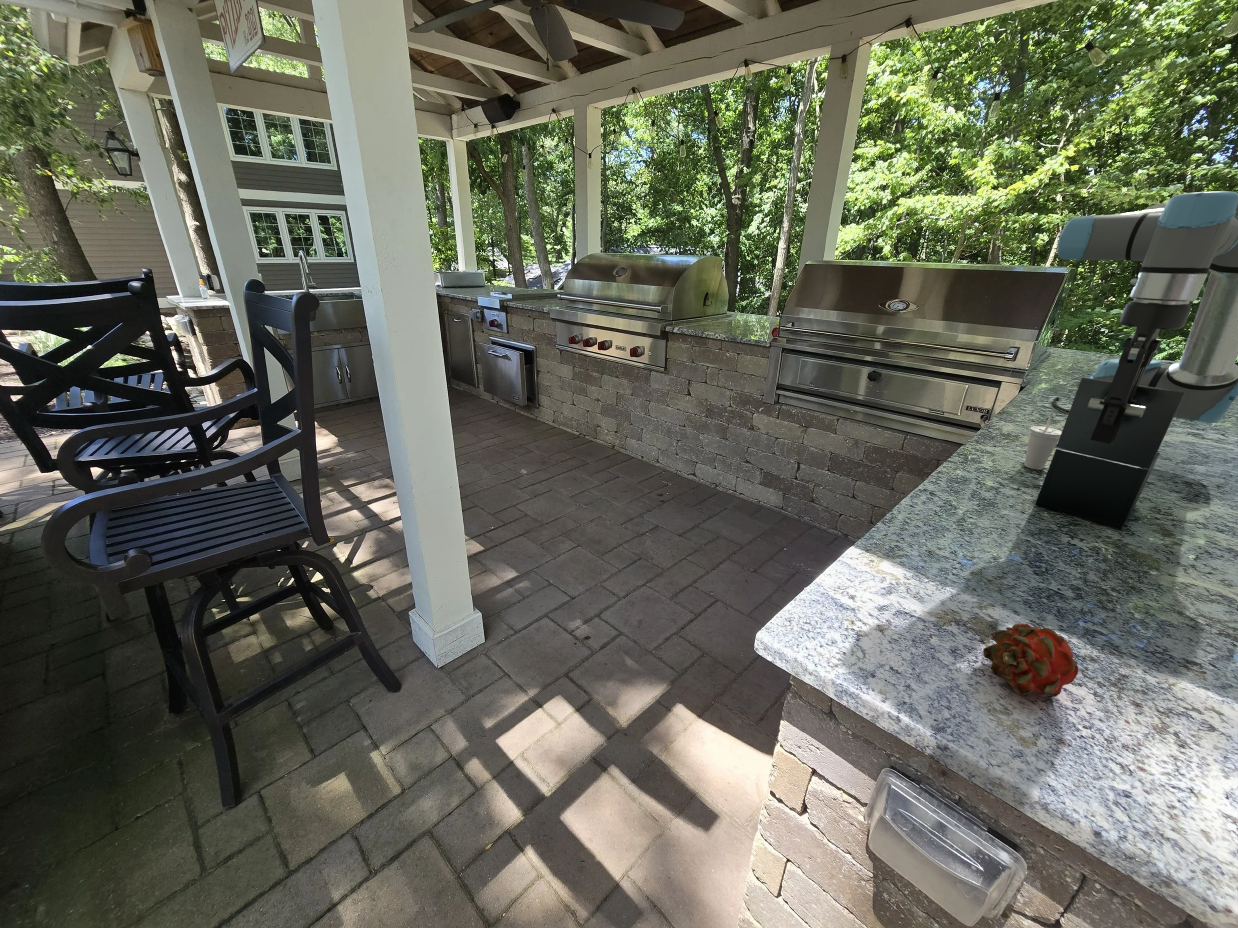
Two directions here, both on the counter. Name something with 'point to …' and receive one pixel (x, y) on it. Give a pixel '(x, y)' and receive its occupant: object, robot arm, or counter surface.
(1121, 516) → the trash can
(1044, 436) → the smoothie
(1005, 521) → the counter surface
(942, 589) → the counter surface
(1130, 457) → the trash lid
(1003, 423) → the counter surface
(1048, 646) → the dragon fruit
